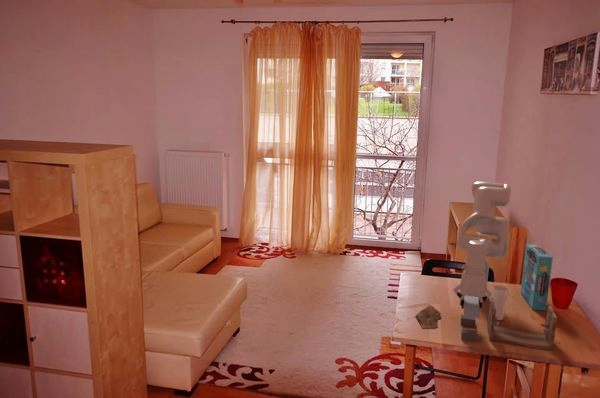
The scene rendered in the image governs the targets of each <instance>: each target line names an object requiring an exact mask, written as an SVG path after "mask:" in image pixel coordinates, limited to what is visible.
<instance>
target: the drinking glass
mask: <svg viewBox="0 0 600 398" xmlns="http://www.w3.org/2000/svg"><path fill="white" fill-rule="evenodd" d="M490 293H491V295H492V296H491V297H490V299H491V298H494V302H495V306H496V316H495V317H498V320H496V319H495V321H502V320H504V316H505V315H504V314H505V310H506V306H507V302H508V301H507V300H508V295H509V288H508V287H507V286H504V285H502V284H501V285H500V284H495V285H492V287H491V292H490Z"/></svg>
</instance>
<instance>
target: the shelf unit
mask: <svg viewBox="0 0 600 398" xmlns="http://www.w3.org/2000/svg"><path fill="white" fill-rule="evenodd" d="M495 316H496V306H495V302H494V298H491V297H490V300H489V308H488V318H487V328H486V329H487V333H488V340H489V341H491V342H498V343H504V344H509V345H515V346H516V345H517V346H522V347H528V348H529V347H530V348H535V349H539V350H540V349H542V350H548V351H553V349H554V344H555V336H556V330H557V322H558V317H557V315H556V313H555V311H554V309H553V306H551V305H547V307H546V316H545V317H546V318H545V323H541V327H544V328H543V332H536V331H532V330H525V329H524V330H523V329H518V328H517V329H516V328H512V327H506V326H505V327H503V326H499V325H500V322H499V320H498V317H495ZM495 319H496V320H495Z"/></svg>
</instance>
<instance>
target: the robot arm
mask: <svg viewBox="0 0 600 398" xmlns="http://www.w3.org/2000/svg"><path fill="white" fill-rule="evenodd" d="M511 192H512V189H511V185H509V184H508V183H505V182H504V183H503V182H493V181H476V182H475V181H474V182H473V183H472V184H471V193H472V197H473V199H474V200H473V201H474V202H473V207H472V213H471V215H469V216H468V217H466V219H464V221H463V222H462V223H461V224H460V226H459V229H458V235H457V240H456V241H457V242H456V245H457V246H456V247H457V248H458V249H459V250H460V251H463V252H466V255H465V264H464V265H461V269H462V270H463V271H462V273H461V278H460V283H459V284H457V286H455V287H454V288H453V289H452V290H453V292H454V293H455V294H456V296H457V297H458V298H459V299H460V303H459V306H460V307H461V309H462V310H464V297H465V295H466V296H473V297H478V301H479V308H480V310H481V309H483V302H485V301H488V300H489V298H491V296H492V295H491V293H492V292H491V291H490V290H489V289H488V288H487V286H488V277H489V269H490V264H489V261H488V259H487V258H494V259H503V258H505V257H506V255H507V251H508V242H509V233H510V223H509V220H508V219H507V218H505V217H502V216H495V214H494V213H495V206H497V207H507V206H508V205H509V203H510V200H511V194H512V193H511ZM472 227H473V230H474V231H475V233H476V234H479V235H476V234H470V233H469V234H468V233H467V231H468V230H469V229H470V228H472ZM482 235H483V236H482ZM485 235H487V236H485ZM488 236H493V237H488ZM494 237H495V238H494ZM496 237H497V238H496ZM486 257H487V258H486Z"/></svg>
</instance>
